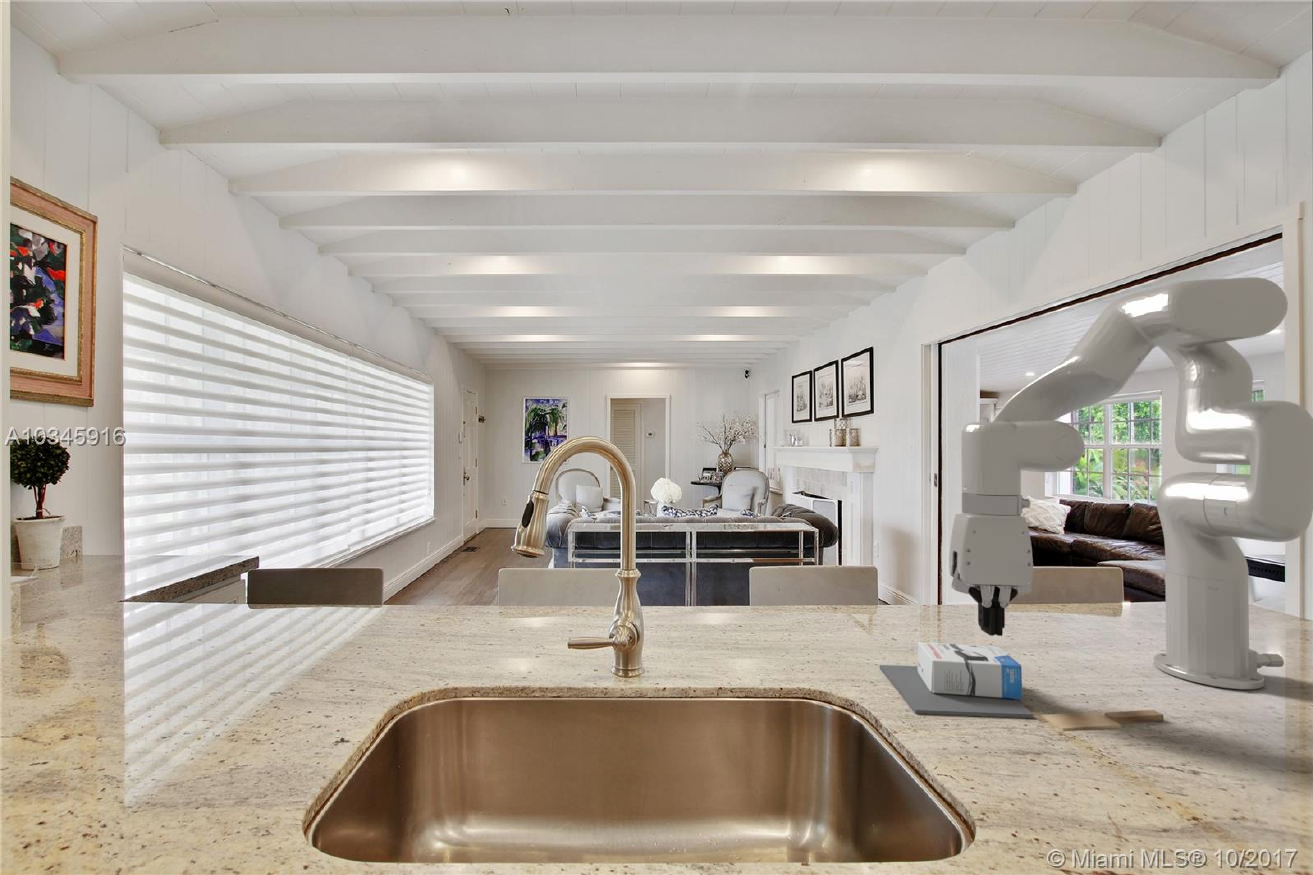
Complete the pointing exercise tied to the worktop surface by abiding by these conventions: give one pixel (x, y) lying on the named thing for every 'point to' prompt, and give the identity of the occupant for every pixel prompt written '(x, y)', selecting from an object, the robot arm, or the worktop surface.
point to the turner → (1101, 719)
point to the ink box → (969, 670)
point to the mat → (948, 697)
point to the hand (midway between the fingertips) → (991, 632)
